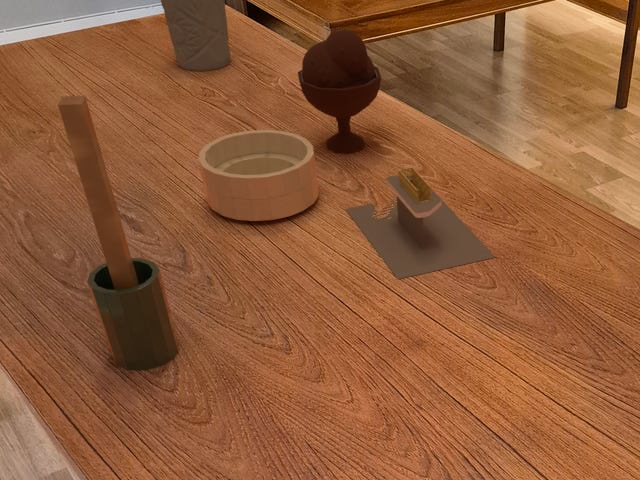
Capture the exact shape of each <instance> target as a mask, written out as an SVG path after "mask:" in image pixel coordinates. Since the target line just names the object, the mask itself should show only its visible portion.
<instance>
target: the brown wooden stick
mask: <svg viewBox="0 0 640 480" xmlns="http://www.w3.org/2000/svg"><path fill="white" fill-rule="evenodd" d="M57 107H58V110H59V113H60V116H61V120H62V123H63V126H64V130H65V132H66V135H67V139H68V142H69V146H70V150H71V153H72V155H73V159H74V162H75V165H76V168H77V171H78V175H79V179H80V181H81V185H82V188H83V191H84V194H85V198H86V201H87V204H88V208H89V210H90V214H91V217H92V220H93V223H94V226H95V227H94V228H95V231H96V234H97V236H98V240H99V243H100V246H101V249H102V252H103V256H104V259H105V263H107V266H108V269H109V272H110V276H111V279H112V282H113V285H114V288H115V290H123V289H129V288H134V287H136V286H138V285H139V283H138V279H137V276H136V272H135V269H134V265H133V262H132V258H133V257H132V255H131V251H130V248H129V245H128V241H127V237H126V234H125V230H124V227H123V223H122V220H121V216H120V213H119V209H118V205H117V203H116V199H115V195H114V191H113V188H112V185H111V181H110V178H109V174H108V171H107V168H106V164H105V160H104V156H103V153H102V150H101V146H100V143H99V140H98V136H97V133H96V129H95V126H94V121H93V118H92V115H91V111H90V108H89V104H88V100H87V97H86V96H85V95H75V96H74V95H71V96H61V98H60V100H59V101H58V105H57Z"/></svg>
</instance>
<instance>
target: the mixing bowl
mask: <svg viewBox="0 0 640 480" xmlns="http://www.w3.org/2000/svg"><path fill="white" fill-rule="evenodd" d="M198 166H199V170H200V175H201V179H202V185H203V189H204V194H205V199H206V203H207V205H208V206H209V208H210V209H211V210H212V211H214V212H216V213H217V214H219V215H220V216H222V217H225V218H228V219H231V220H232V219H233V220H237V221H246V222H247V221H249V222H261V221H274V220H278V219H279V220H280V219H283V218H287V217H288V218H289V217H291V216H293V215H296V214H299V213H301V212H303V211H306V210H307V209H308V208H310V207H311V206H312V205H313V204H315V202H316V200H317V199H318V198H319V195H320V194H319V184H318V183H319V182H318V174H317V165H316V157H315V148H314V145H313V144H312V143H311V142H310V141H309V140H308V139H307V138H305V137H303V136H302V135H299V134H296V133H292V132H288V131H284V130H274V129H256V130H255V129H253V130H245V131H240V132H234V133H230V134H226V135H224V136H220V137H217V138H215V139H214V140H212V141H210V142H208V143H207V144H205V145H204V146H203V148H202V149H201V150H200V151H199V152H198Z"/></svg>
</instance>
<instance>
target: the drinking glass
mask: <svg viewBox="0 0 640 480" xmlns="http://www.w3.org/2000/svg"><path fill="white" fill-rule="evenodd" d="M160 3H161V7H162V9H163V13H164V18H165V21H166V25H167V27H168V29H167V30H168V32H169V35H170V36H169V37H170V39H171V44H172V46H173V51H174V56H175V59H176V62H177V65H178V66H179V67H180V68H182V69H183V70H187V71H193V72H208V71H215V70H218V69H222V68H225V67H227V66H228V65H230V63H231V60H232V59H231V49H230V48H231V47H230V43H229V39H230V38H229V30H228V20H227V10H226V0H160Z"/></svg>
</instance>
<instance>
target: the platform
mask: <svg viewBox="0 0 640 480" xmlns="http://www.w3.org/2000/svg"><path fill="white" fill-rule="evenodd" d="M385 182H386V185H387V186H388V188H390V189H391V190H392V192H393V193H394V194H395V195H396V198H395V199H396V200H395V201H397V202H396V203H397V205H394V206H395V207H394V206H389V207H385V208H383V210H384V209H387V208H390V207H394V208H392V209H388V210H391V211H390V212H388V213H390V214H388V216H386V217H383V218H380V219H378V218H375V217H377V216H380V215H384V214H387V213H384V214H380V215H377V216H374V217H372V216H373V215H376V214H377V213H378V212H377V211H376V210H375V207H374V206H373V203H368V204H363V205H357V206H353V207H347V208H345V211H346V212H347V214H348V215H349V216H350V218H351V219H352V220H353V222H354V223H355V225H356V226H357V227H358V229H359V230H360V231H361V232H362V234H363V235H364V237H365V238H366V239H367V240H368V242H369V243H370V245H371V246H372V247H373V249H374V250H375V252H376V253H377V254H378V255H379V257H380V258H381V259H382V260H383V262H384V263H385V264H386V266H387V267H388V268H389V270H390V271H391V273H392V274H393V275H394V276H395V278H396V279H397V280H401V279H406V278H410V277H413V276H418V275H422V274H428V273H432V272H436V271H437V272H438V271H441V270H445V269H450V268H454V267H459V266H463V265H467V264H472V263H476V262H481V261H485V260H489V259H490V260H491V259H494V258H496V256H495V255H494V254H493V253H492V252H491V251H490V250H489V249H488V248H487V246H486V245H485V244H484V243H483V242H482V241H481V240H480V239H479V238H478V237H477V235H475V234H474V233H473V231H472V230H471V229H470V228H469V227H468V226H467V225H466V224H465V223H464V222H463V220H461V219H460V217H459V216H458V215H457V213H455V212H454V211H453V210H452V208H450V206H449V205H447V203H446V202H445V201H444V200H443V199H442V198H441V197H440V196H439V195H438V193H436V191H434V190H433V189H432V186H431V185H430V184H429V183H428V182H427V181H426V180H425V179H424V177H422V176H421V174H420V173H419V172H418V171H417V170H416V169H415V168H414V167H413V166H410V167H405V168H400V169H398V174H397V175H390V176H387V177H385ZM395 201H390V203H391V202H395ZM396 203H391V204H390V205H392V204H396ZM375 205H376V204H375ZM388 210H384V211H381V213H382V212H385V211H388ZM374 212H376V213H374ZM372 213H373V214H372ZM396 213H397V214H396ZM390 217H392V218H390ZM387 218H390V219H387Z"/></svg>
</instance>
